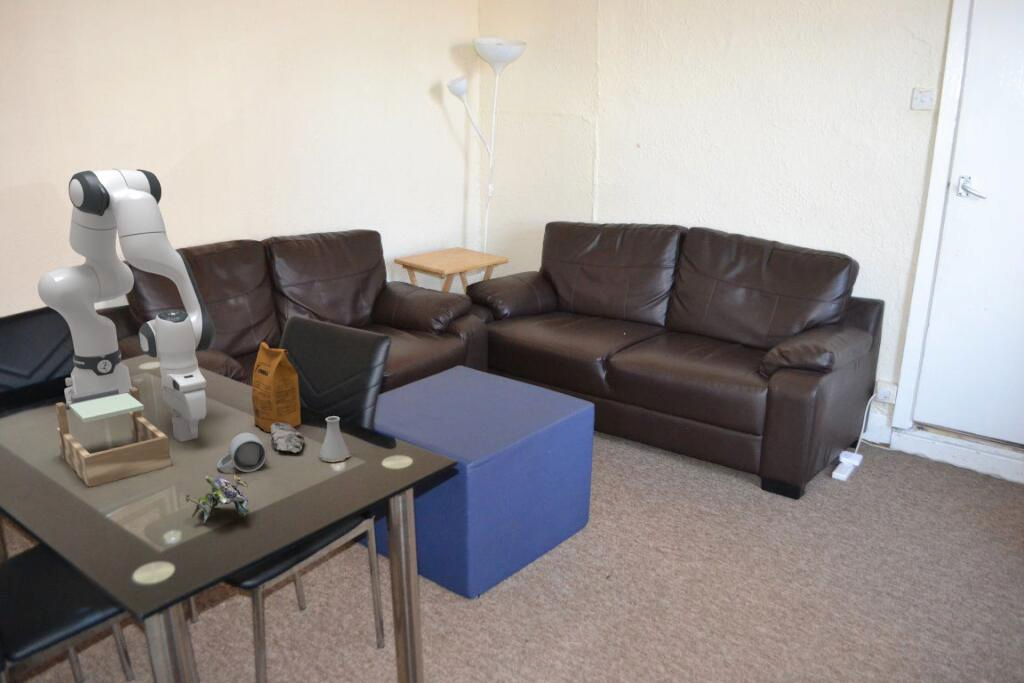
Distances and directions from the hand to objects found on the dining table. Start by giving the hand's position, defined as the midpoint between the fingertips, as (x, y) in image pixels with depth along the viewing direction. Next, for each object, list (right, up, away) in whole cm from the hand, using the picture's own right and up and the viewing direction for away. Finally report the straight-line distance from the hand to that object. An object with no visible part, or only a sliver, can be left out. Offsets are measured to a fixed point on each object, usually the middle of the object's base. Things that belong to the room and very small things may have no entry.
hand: (186, 427), depth 207 cm
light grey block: (0, -3, +1) cm, 3 cm away
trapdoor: (-14, +6, -14) cm, 20 cm away
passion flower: (+23, -15, -41) cm, 49 cm away
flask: (+40, -6, -11) cm, 42 cm away
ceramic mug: (+20, -8, -16) cm, 27 cm away
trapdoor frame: (-12, -6, -13) cm, 19 cm away
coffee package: (+21, -1, +9) cm, 22 cm away
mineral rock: (+27, -4, -4) cm, 27 cm away
